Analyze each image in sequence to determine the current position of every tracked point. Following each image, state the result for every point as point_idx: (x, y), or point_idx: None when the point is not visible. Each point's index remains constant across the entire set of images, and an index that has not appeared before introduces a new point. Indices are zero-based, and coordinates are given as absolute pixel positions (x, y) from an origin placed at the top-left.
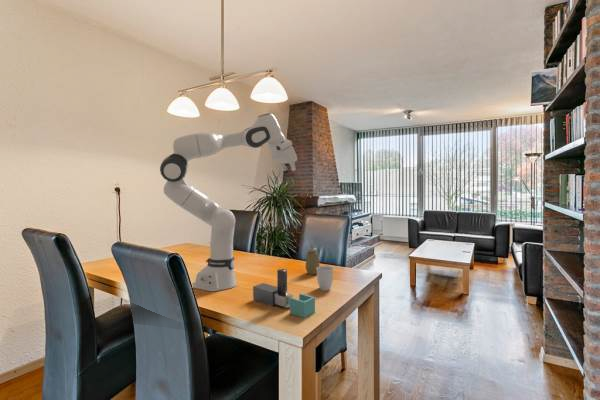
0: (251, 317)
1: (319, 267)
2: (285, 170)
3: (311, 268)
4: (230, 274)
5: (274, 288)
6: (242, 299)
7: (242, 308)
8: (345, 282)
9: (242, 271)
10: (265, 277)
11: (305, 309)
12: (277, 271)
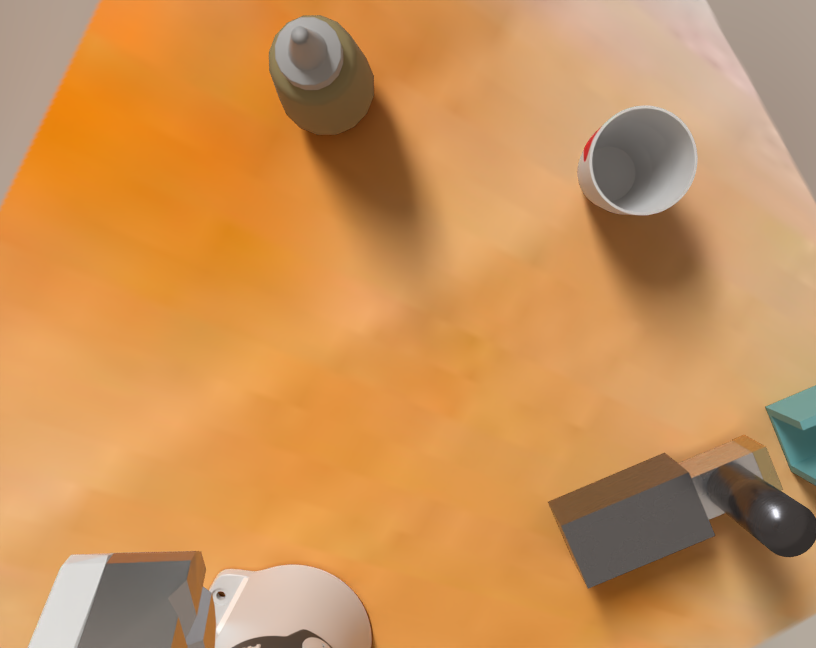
0: (747, 622)
1: (592, 173)
2: (212, 618)
3: (362, 115)
4: (343, 643)
5: (671, 505)
6: (541, 600)
7: (642, 628)
8: (577, 9)
9: (83, 471)
10: (268, 388)
11: None
12: (783, 555)
